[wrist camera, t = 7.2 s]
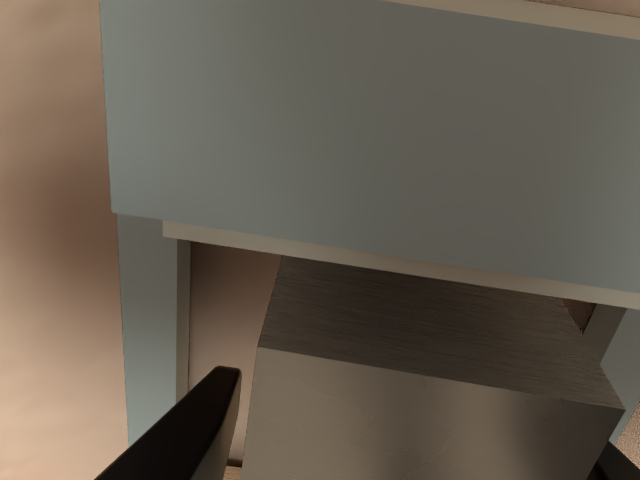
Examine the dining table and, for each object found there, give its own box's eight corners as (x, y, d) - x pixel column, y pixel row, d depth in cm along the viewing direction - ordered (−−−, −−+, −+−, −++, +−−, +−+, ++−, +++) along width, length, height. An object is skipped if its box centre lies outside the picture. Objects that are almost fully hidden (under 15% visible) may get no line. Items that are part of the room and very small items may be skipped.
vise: (489, 619, 18) (529, 838, 13) (148, 566, 18) (77, 767, 13) (793, 41, 9) (1195, 124, 5) (127, -61, 9) (-96, -72, 5)
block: (513, 217, 11) (625, 409, 6) (456, 377, 13) (508, 615, 9) (303, 180, 11) (257, 346, 6) (278, 347, 13) (229, 567, 9)
